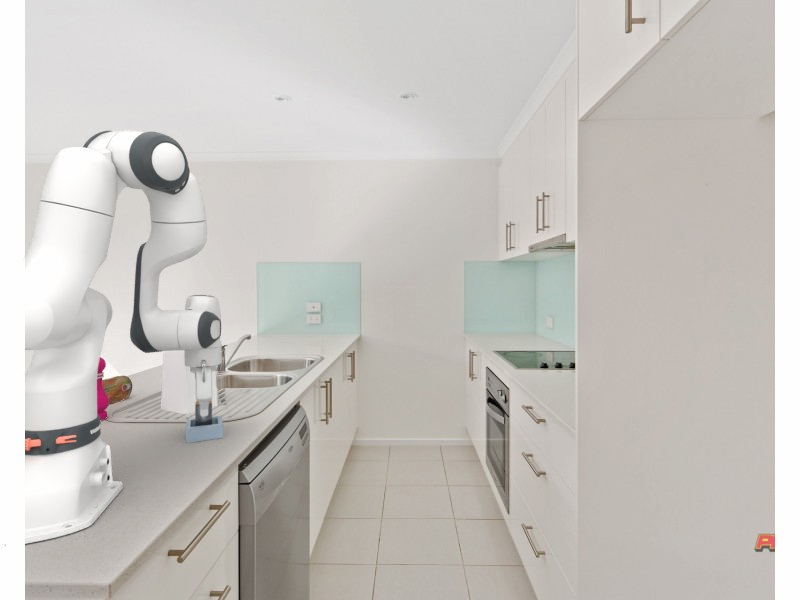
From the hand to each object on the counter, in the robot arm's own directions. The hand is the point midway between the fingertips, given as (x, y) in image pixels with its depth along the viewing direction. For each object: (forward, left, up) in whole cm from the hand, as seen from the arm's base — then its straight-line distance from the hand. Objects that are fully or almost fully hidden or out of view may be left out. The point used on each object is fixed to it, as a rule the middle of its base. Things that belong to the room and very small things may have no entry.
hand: (204, 410), depth 115 cm
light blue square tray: (0, 0, -6) cm, 6 cm away
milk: (+31, +4, -7) cm, 32 cm away
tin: (+48, +28, -7) cm, 56 cm away
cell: (0, 0, -5) cm, 5 cm away
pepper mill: (+28, +29, -7) cm, 41 cm away
